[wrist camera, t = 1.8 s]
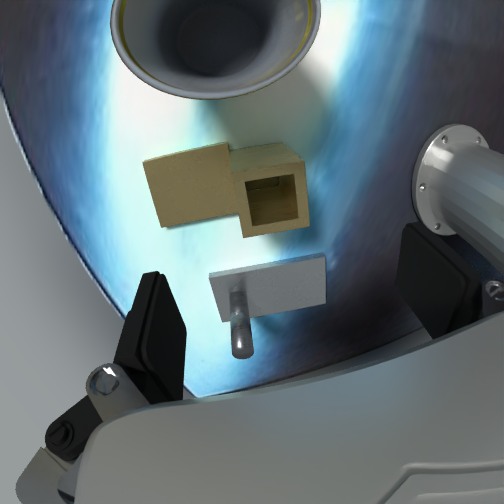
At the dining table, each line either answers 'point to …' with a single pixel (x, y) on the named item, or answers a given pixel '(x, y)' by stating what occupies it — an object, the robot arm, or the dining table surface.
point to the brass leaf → (230, 187)
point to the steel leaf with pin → (266, 294)
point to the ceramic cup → (213, 43)
